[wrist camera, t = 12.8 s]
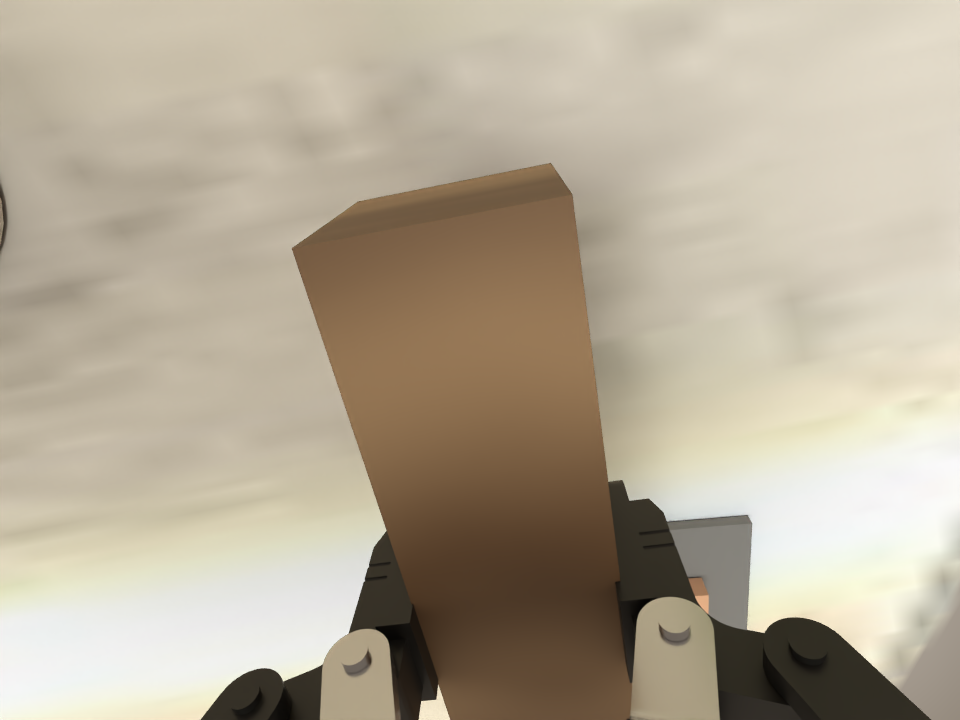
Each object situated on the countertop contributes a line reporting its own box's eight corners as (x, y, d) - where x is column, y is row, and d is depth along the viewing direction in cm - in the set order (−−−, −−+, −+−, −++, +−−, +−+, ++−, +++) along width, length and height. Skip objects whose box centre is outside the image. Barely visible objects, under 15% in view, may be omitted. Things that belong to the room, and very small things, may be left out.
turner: (312, 210, 12) (226, 260, 8) (601, 153, 11) (648, 179, 7) (495, 795, 20) (492, 946, 17) (665, 783, 20) (701, 939, 16)
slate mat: (516, 534, 31) (516, 542, 30) (747, 515, 29) (751, 523, 29) (547, 726, 37) (548, 735, 36) (738, 717, 36) (741, 726, 35)
